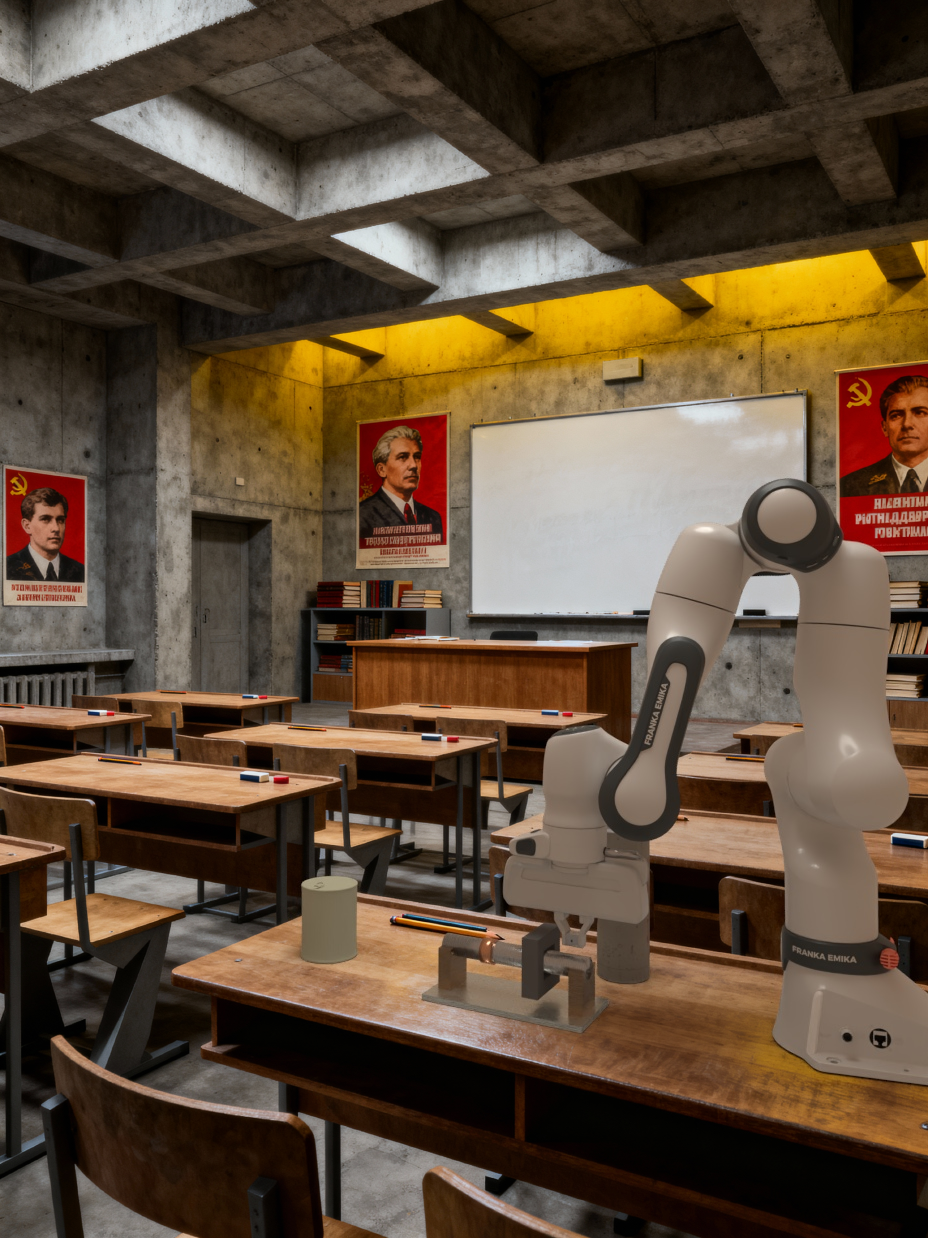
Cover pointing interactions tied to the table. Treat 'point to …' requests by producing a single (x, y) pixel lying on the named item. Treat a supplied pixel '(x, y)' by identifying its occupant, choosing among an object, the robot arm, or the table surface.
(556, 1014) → the rail
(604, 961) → the thermos bottle
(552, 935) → the collar
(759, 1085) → the table surface
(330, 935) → the can
